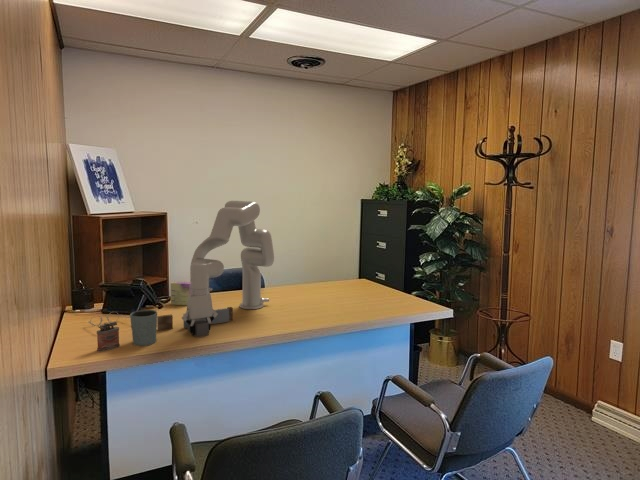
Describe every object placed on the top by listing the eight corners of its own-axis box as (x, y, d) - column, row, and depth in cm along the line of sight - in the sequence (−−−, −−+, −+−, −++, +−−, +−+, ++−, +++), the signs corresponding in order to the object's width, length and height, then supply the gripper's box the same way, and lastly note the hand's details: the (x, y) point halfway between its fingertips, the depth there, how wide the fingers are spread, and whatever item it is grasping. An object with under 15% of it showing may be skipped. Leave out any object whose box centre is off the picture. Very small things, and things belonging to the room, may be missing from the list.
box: (193, 303, 230) (193, 281, 229) (189, 305, 225) (189, 283, 223) (175, 302, 231) (174, 280, 230) (170, 304, 226) (170, 282, 224)
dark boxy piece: (198, 329, 188) (198, 317, 188) (208, 335, 181) (208, 322, 180) (187, 331, 185) (187, 319, 185) (197, 337, 178) (197, 324, 177)
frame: (231, 319, 204) (231, 306, 203) (232, 320, 202) (232, 307, 201) (157, 329, 186) (157, 316, 186) (158, 330, 185) (158, 317, 184)
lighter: (99, 352, 159) (98, 326, 158) (95, 349, 162) (94, 324, 160) (121, 346, 165) (120, 321, 164) (117, 344, 167) (116, 319, 166)
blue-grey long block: (227, 319, 201) (227, 307, 200) (229, 321, 199) (229, 309, 198) (182, 326, 190) (182, 313, 190) (184, 327, 188) (184, 314, 187)
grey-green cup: (145, 348, 164) (144, 317, 163) (124, 344, 168) (123, 314, 167) (163, 339, 174) (162, 311, 173) (143, 336, 177) (143, 308, 176)
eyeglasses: (121, 320, 200) (120, 309, 199) (142, 328, 188) (142, 317, 188) (85, 328, 187) (85, 317, 186) (106, 337, 176) (106, 326, 175)
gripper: (216, 287, 187) (217, 327, 189) (176, 291, 178) (177, 333, 180) (222, 291, 181) (222, 332, 183) (181, 295, 172) (181, 339, 174)
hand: (200, 332), depth 181 cm, fingers closed on dark boxy piece, 5 cm apart
